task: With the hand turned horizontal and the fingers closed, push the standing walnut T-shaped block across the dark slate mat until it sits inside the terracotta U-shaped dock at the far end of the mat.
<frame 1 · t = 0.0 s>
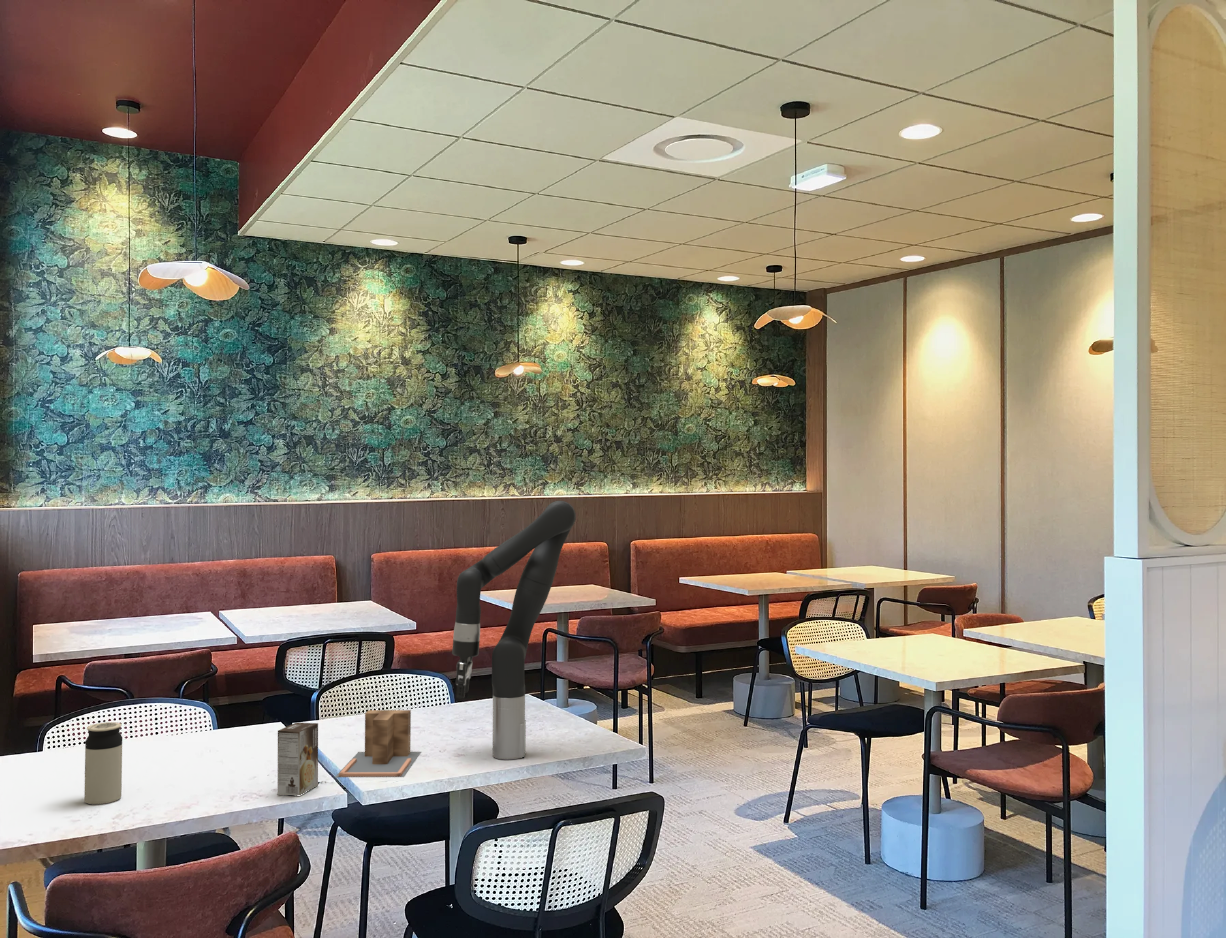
hand: (462, 695, 274), 17 cm above the table, tool pointing down, fingers open, 8 cm apart
coffee box: (297, 791, 241), on the table
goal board: (380, 767, 262), on the table
travel mug: (103, 800, 234), on the table
t block: (384, 758, 268), point 1 cm above the table, touching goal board
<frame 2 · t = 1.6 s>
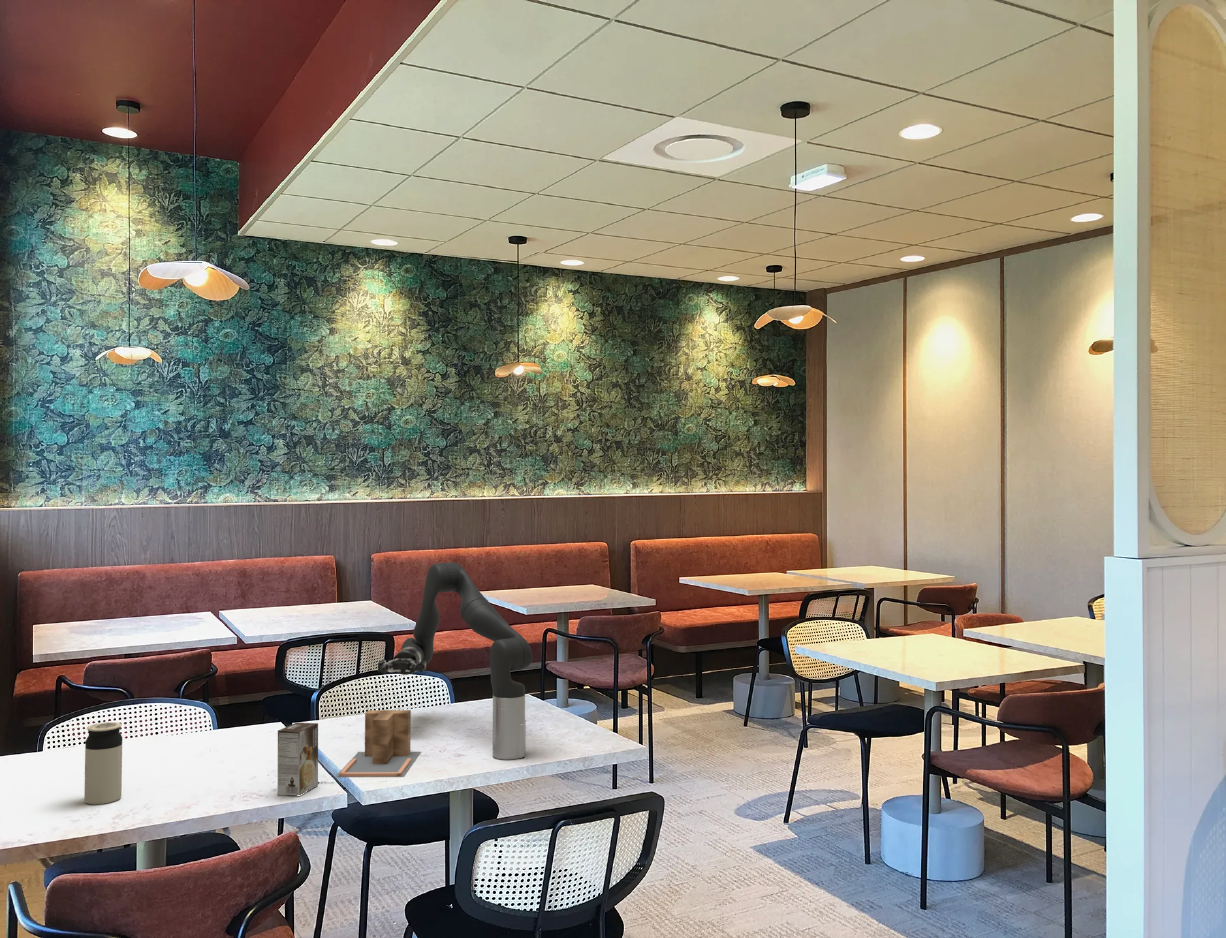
hand: (397, 670, 285), 22 cm above the table, tool horizontal, fingers open, 7 cm apart
nothing on the table moved.
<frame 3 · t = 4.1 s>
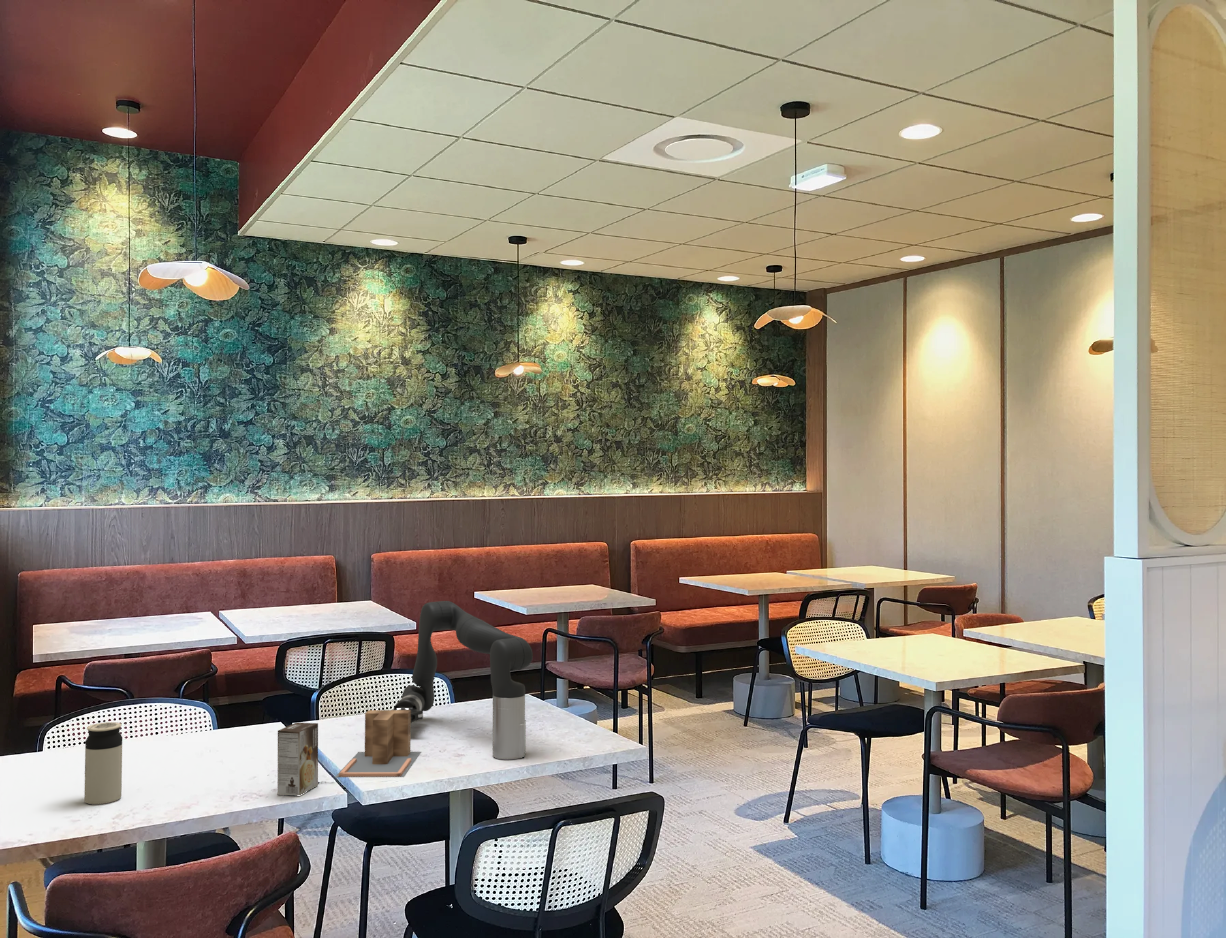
hand: (396, 721, 283), 7 cm above the table, tool horizontal, fingers closed
nothing on the table moved.
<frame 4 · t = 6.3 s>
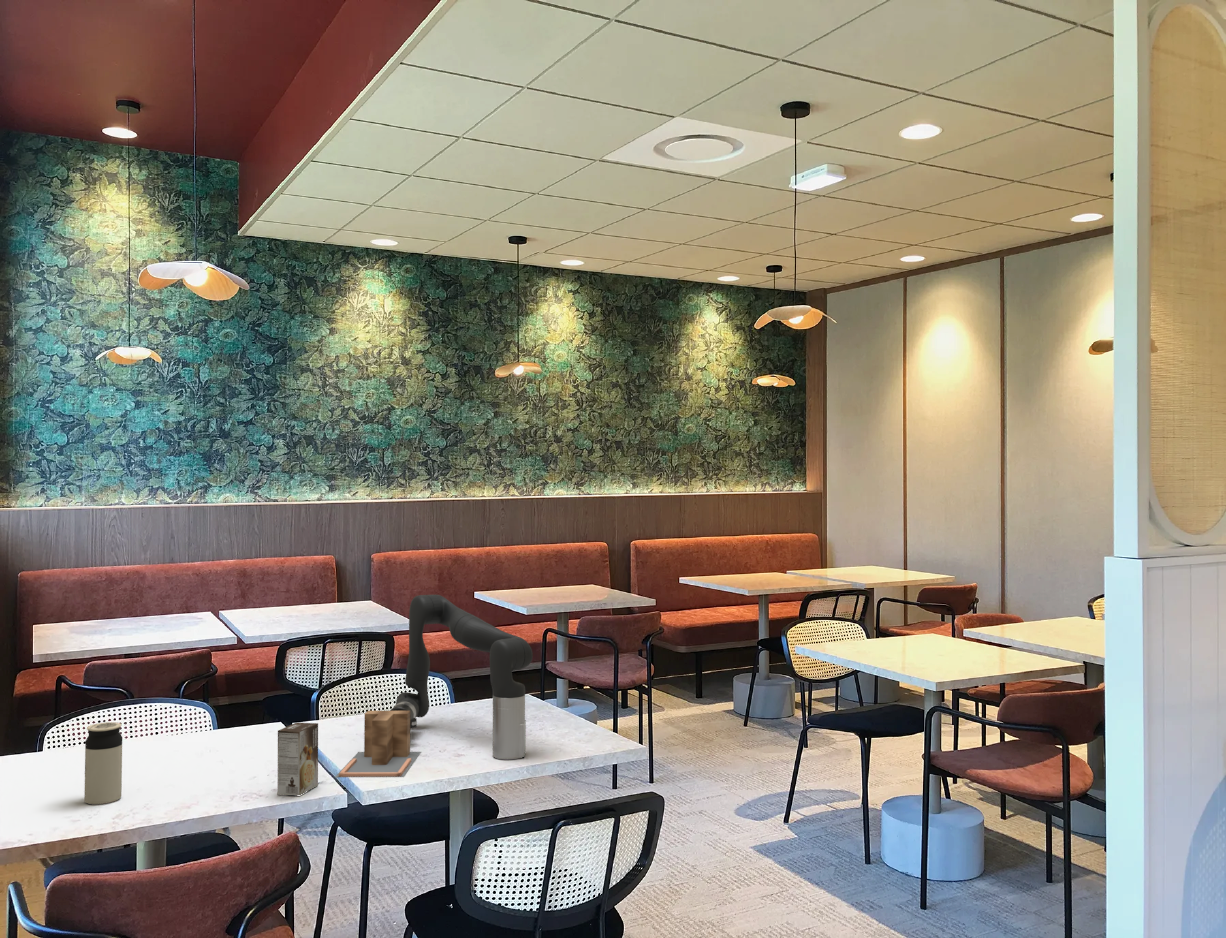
hand: (389, 729, 273), 8 cm above the table, tool horizontal, fingers closed
t block: (384, 758, 267), point 1 cm above the table, touching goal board, gripper
everything else where it was.
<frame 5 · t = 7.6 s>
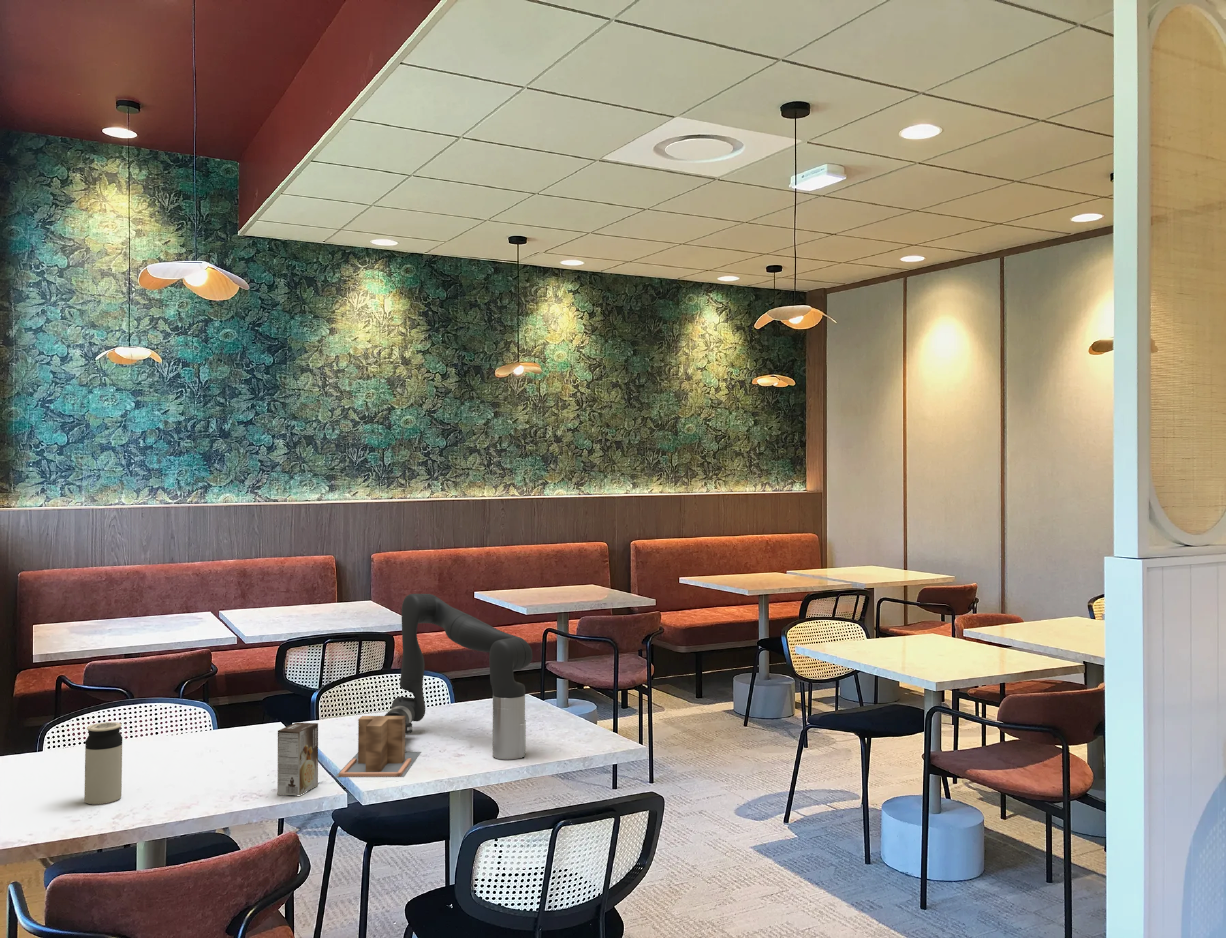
hand: (383, 735, 267), 8 cm above the table, tool horizontal, fingers closed
t block: (378, 765, 260), point 1 cm above the table, touching gripper
everything else where it was.
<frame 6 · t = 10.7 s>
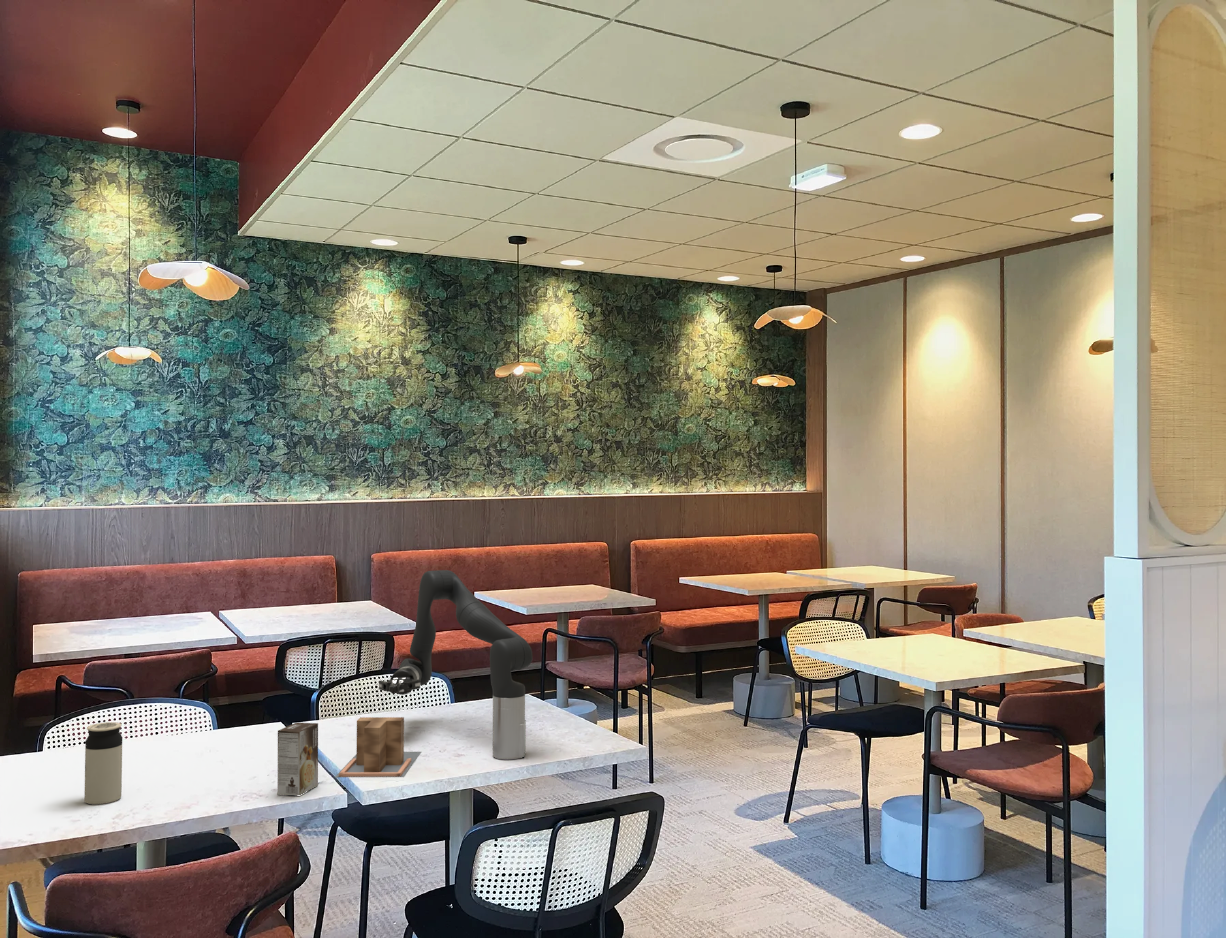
hand: (393, 689, 278), 18 cm above the table, tool horizontal, fingers closed
t block: (376, 767, 259), point 1 cm above the table, touching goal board
everything else where it was.
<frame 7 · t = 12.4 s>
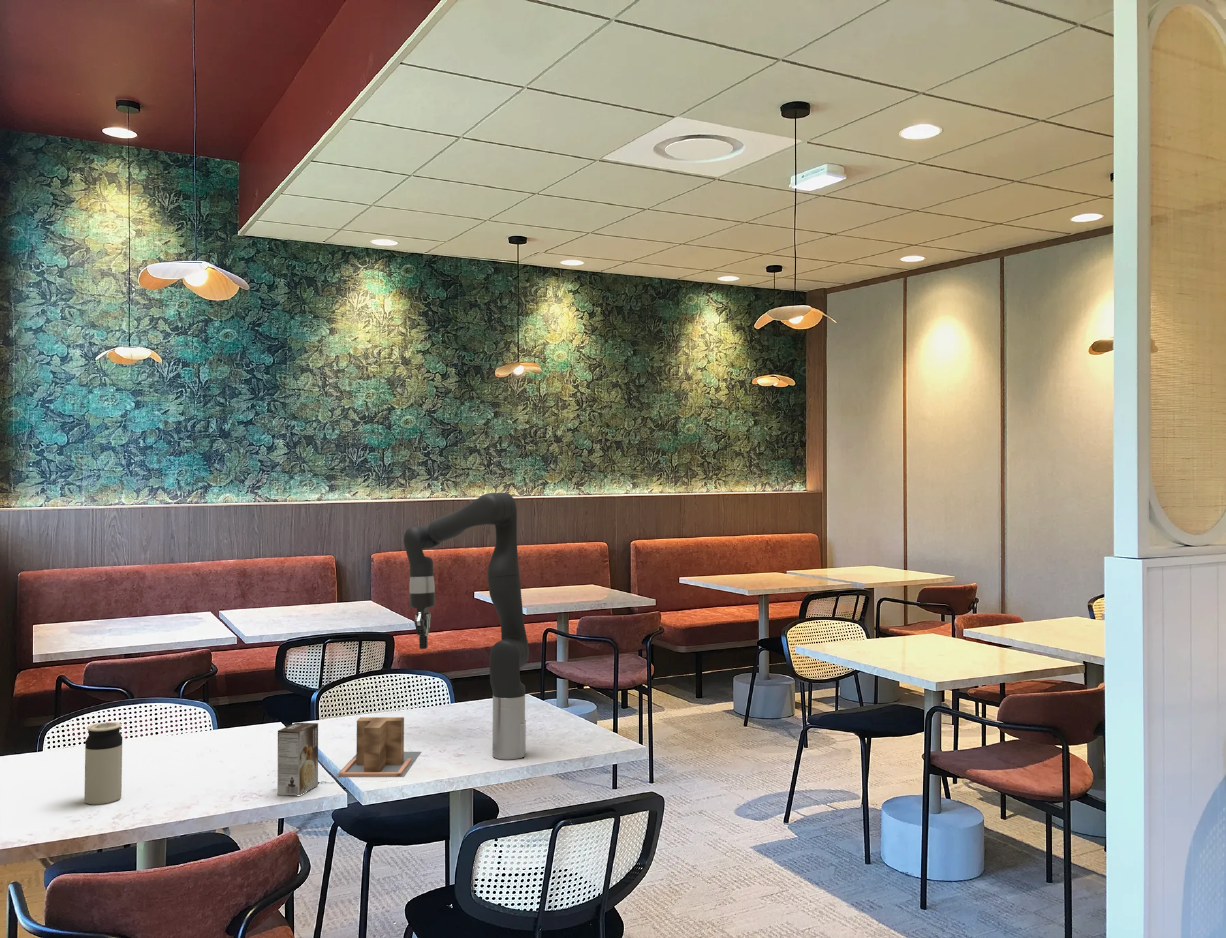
hand: (423, 648, 293), 28 cm above the table, tool pointing down, fingers closed
nothing on the table moved.
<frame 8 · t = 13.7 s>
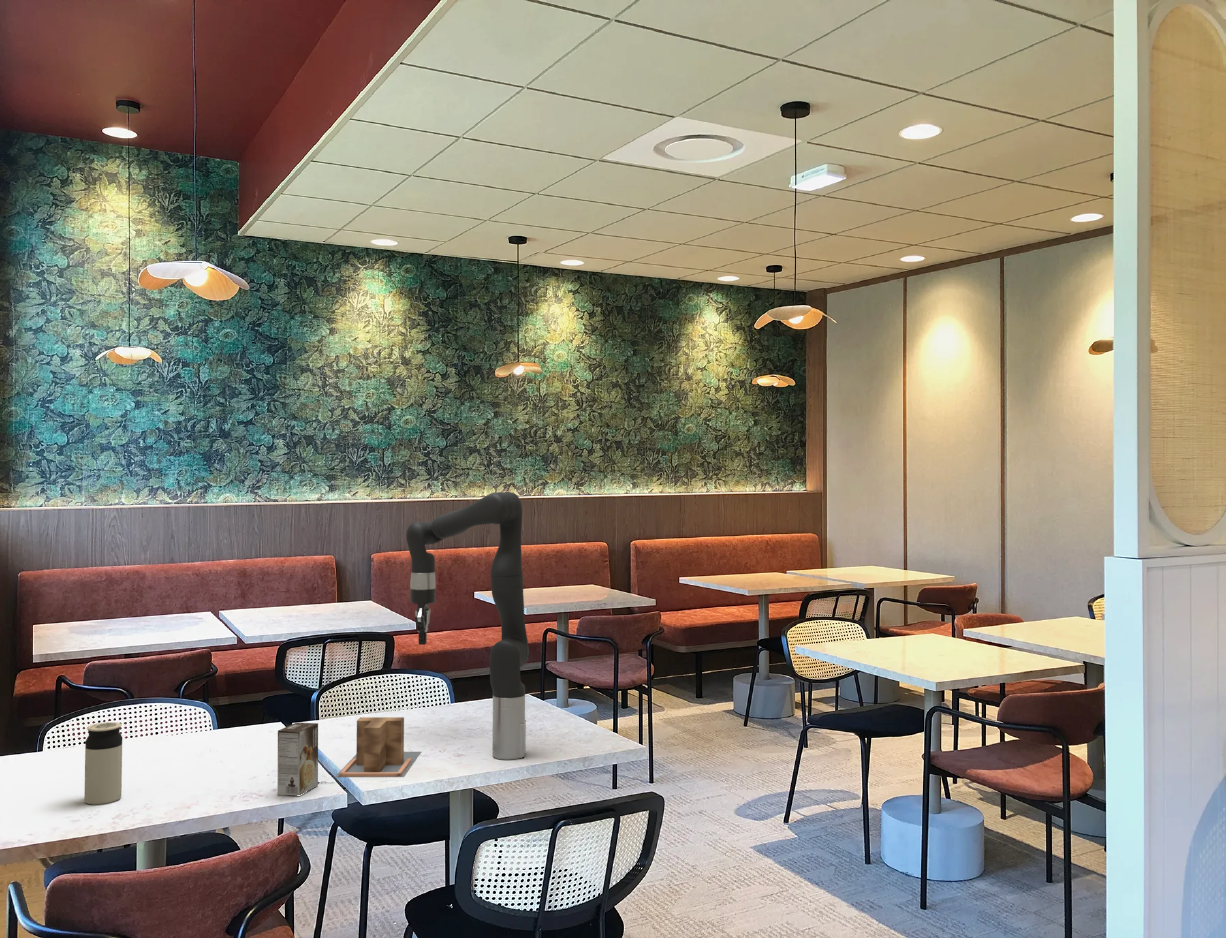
hand: (422, 644, 293), 29 cm above the table, tool pointing down, fingers closed
nothing on the table moved.
at the end: t block inside the target area (0.9 cm from its centre), point 1.0 cm above the table; t block tilted 0° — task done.
